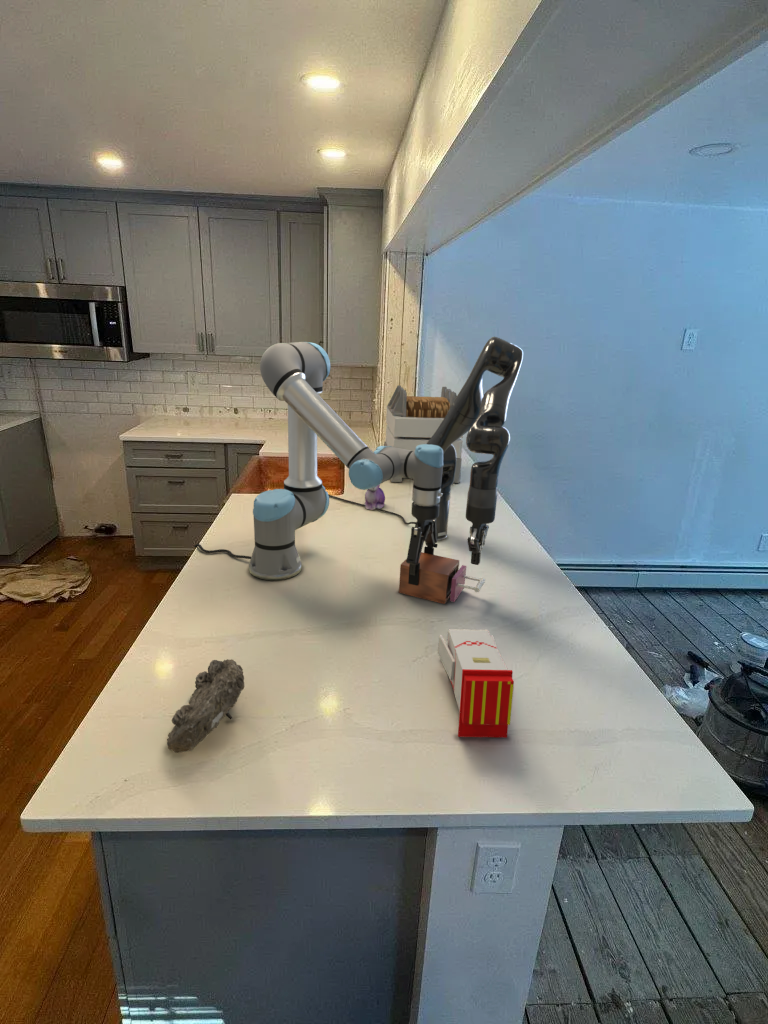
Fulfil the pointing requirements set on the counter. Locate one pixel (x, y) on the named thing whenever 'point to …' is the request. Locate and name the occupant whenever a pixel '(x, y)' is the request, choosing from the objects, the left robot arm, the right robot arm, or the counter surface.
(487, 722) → the toy
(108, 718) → the counter surface
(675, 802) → the counter surface
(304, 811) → the counter surface
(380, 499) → the figurine
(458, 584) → the drawer
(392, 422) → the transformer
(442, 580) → the cabinet
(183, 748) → the fossil
